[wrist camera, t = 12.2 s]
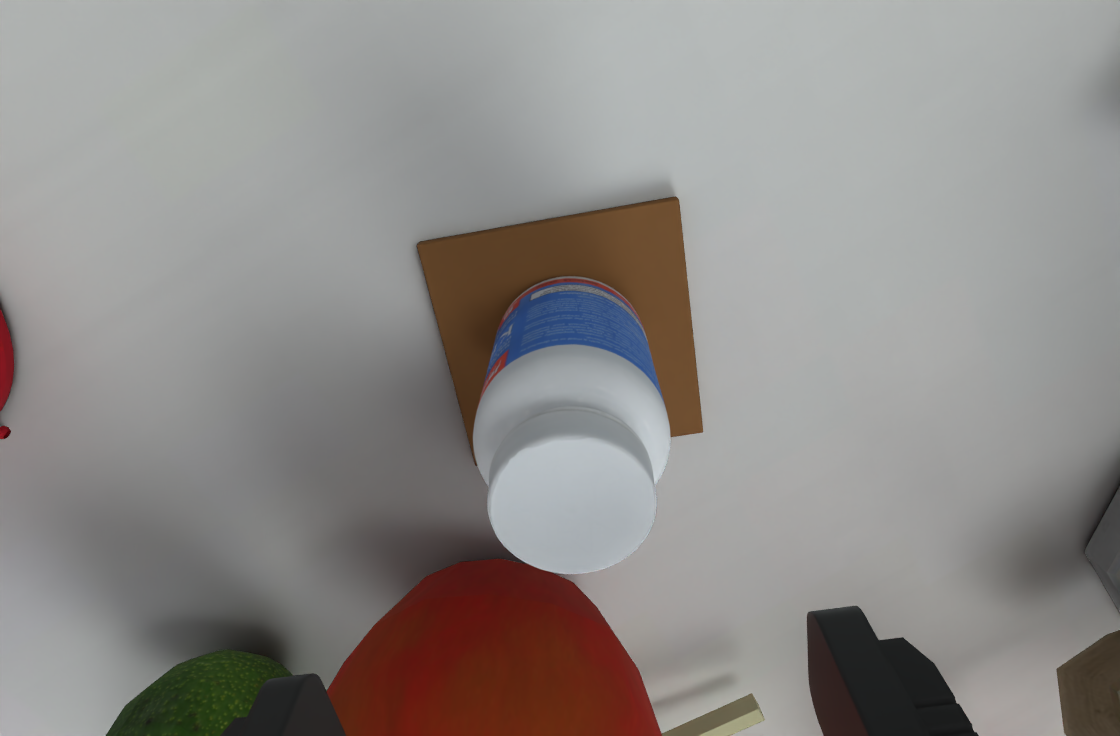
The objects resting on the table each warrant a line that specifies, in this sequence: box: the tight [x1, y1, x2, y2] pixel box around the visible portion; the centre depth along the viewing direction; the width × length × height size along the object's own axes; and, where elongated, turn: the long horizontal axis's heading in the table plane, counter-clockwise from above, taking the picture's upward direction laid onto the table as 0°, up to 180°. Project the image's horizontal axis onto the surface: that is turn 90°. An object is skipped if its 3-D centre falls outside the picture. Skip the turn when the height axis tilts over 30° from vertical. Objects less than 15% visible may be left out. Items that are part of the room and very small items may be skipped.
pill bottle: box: [473, 276, 671, 574], centre depth 20 cm, size 6×5×10 cm
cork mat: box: [417, 197, 703, 466], centre depth 25 cm, size 9×9×1 cm
